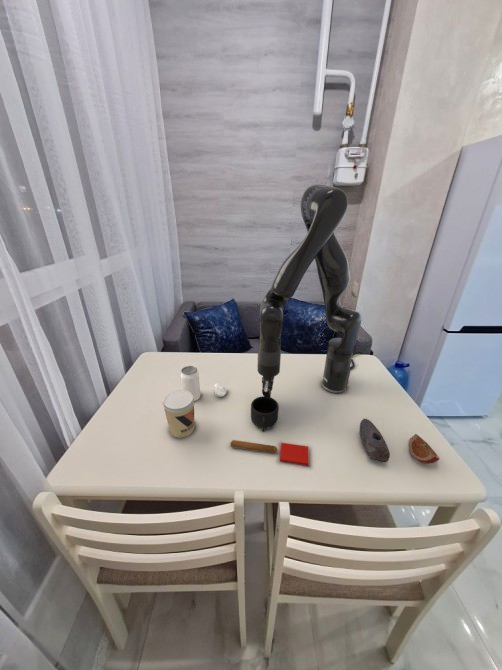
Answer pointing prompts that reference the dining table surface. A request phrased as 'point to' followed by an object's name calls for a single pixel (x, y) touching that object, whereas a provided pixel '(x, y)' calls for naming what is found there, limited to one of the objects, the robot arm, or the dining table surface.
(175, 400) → the beige lidded canister
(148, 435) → the dining table surface
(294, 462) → the spatula
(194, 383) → the can
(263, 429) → the mug
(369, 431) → the perforated stone tool
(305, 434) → the dining table surface
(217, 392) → the dumpling
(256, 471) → the dining table surface
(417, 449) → the fruit slice
